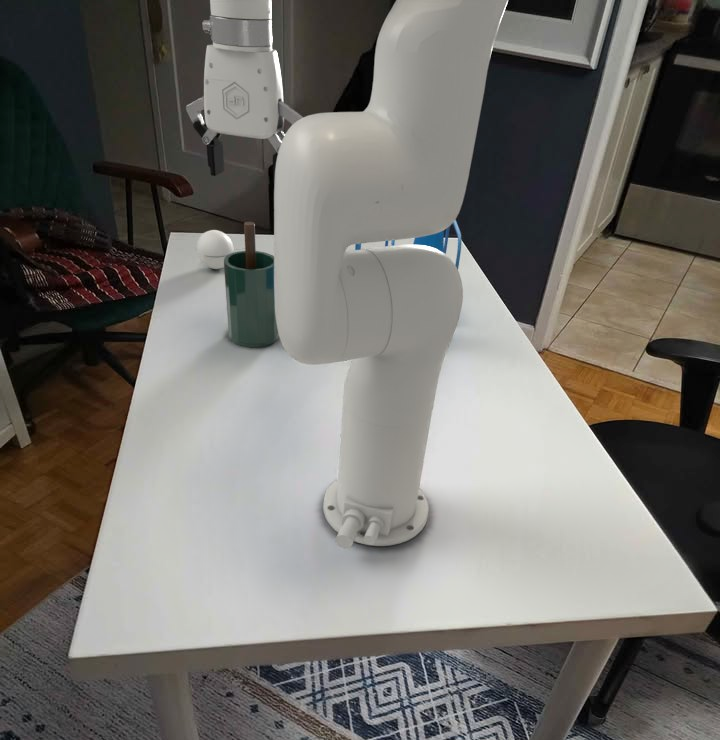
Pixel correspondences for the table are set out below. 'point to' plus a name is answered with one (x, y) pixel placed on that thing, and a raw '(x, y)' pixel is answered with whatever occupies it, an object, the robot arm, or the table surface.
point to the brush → (250, 245)
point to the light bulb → (214, 248)
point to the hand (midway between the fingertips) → (248, 178)
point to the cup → (250, 300)
